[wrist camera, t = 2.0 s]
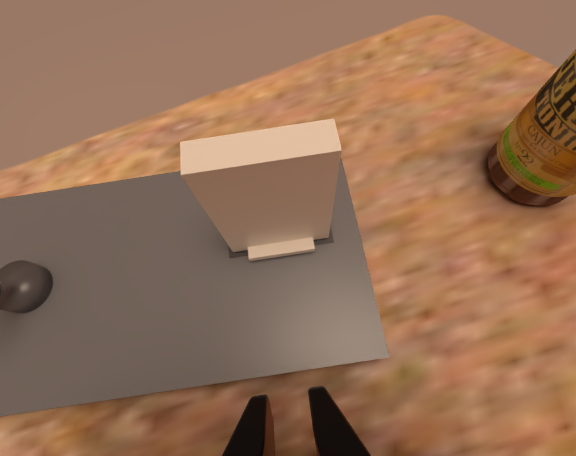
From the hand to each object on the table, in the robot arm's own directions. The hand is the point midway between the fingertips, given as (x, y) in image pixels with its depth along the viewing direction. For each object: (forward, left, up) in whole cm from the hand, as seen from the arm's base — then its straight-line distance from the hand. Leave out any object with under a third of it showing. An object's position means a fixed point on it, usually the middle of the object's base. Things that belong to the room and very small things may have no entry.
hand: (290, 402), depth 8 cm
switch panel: (-3, +11, -13) cm, 17 cm away
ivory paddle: (+4, +7, -10) cm, 13 cm away
